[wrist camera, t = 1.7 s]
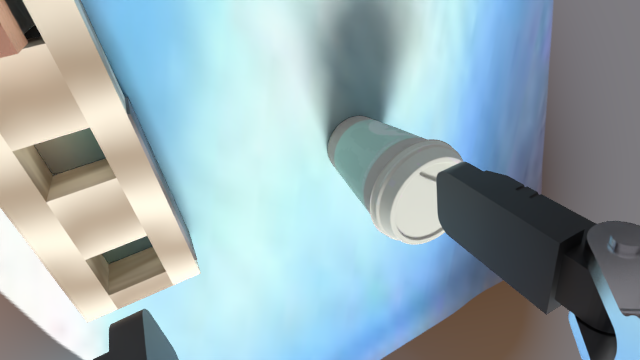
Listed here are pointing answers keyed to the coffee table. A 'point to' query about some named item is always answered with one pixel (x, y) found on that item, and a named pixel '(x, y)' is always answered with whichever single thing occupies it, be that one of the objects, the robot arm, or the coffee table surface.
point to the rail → (85, 170)
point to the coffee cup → (392, 175)
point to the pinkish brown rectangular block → (13, 26)
